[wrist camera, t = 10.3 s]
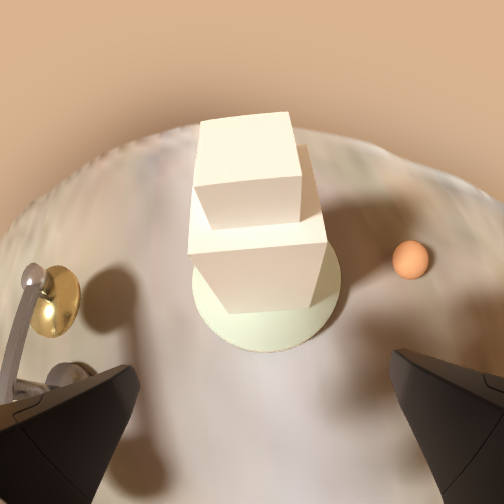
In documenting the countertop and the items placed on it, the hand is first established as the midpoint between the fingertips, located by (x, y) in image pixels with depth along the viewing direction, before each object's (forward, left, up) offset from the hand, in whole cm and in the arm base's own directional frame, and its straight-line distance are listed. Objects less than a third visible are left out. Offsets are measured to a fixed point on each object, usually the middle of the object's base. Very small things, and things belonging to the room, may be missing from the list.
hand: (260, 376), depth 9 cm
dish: (+5, -5, -11) cm, 14 cm away
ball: (-3, -13, -11) cm, 18 cm away
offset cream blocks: (+5, -6, -10) cm, 13 cm away
